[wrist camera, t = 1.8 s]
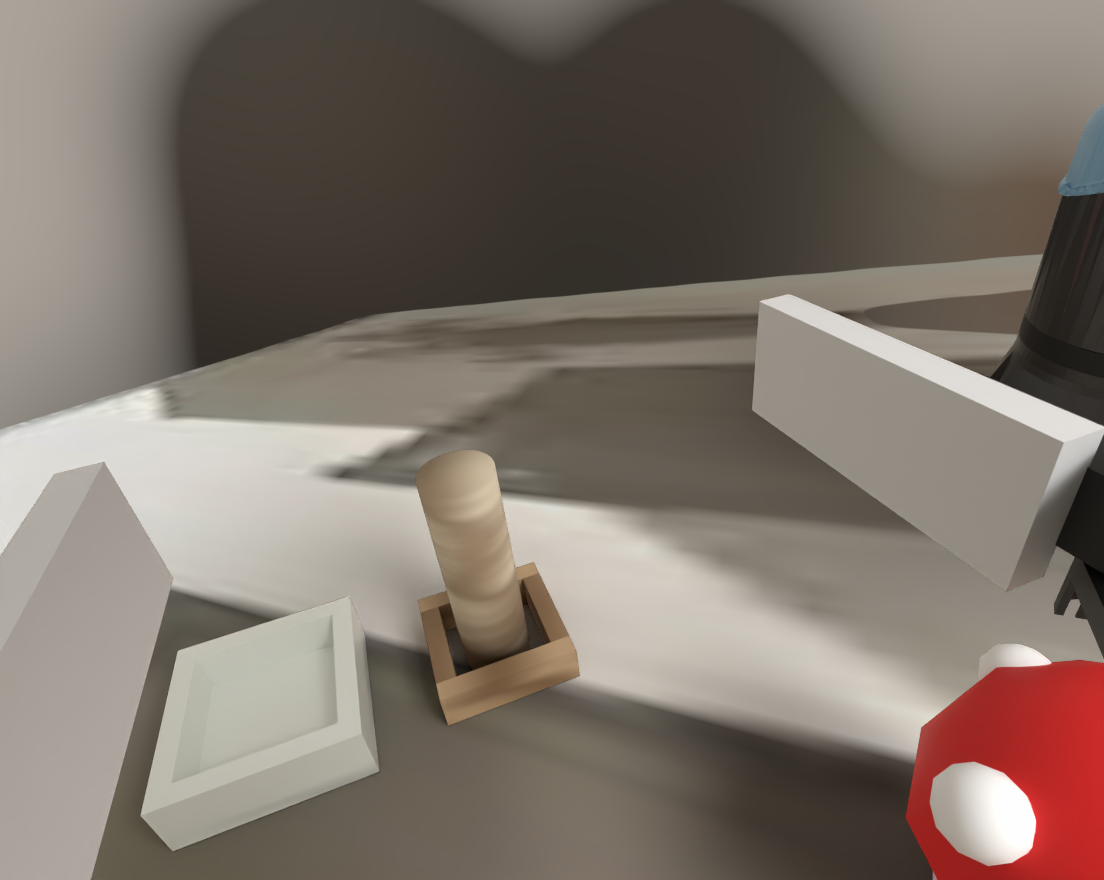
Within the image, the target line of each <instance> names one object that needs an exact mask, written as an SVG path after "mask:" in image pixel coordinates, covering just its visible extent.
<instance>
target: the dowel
mask: <svg viewBox="0 0 1104 880" xmlns="http://www.w3.org/2000/svg"><path fill="white" fill-rule="evenodd" d="M416 485H417V489H418V492H419V496H420V499H421V503H422V506H423V510H424V513H425V517H426V520H427V524H428V527H429V531H430V534H431V538H432V541H433V545H434V548H435V552H436V555H437V559H438V562H439V566H440V569H441V572H442V576H443V579H444V583H445V586H446V590H447V593H448V597H449V600H450V604H451V607H452V611H453V614H454V618H455V621H456V625H457V628H458V632H459V635H460V639H461V642H462V646H463V649H464V653H465V656H466V660H467V663H468V664H469V666H470V667H471V668H472V669H473V670H476V669H479V668H482V667H484V666H487V665H490V664H493V663H495V662H498V661H501V660H504V659H506V658H509V657H512V656H515V655H517V654H520V653H523V652H526V651H528V650H530V639H529V634H528V629H527V624H526V619H525V614H524V609H523V604H522V599H521V594H520V589H519V584H518V579H517V574H516V569H515V564H514V559H513V554H512V549H511V543H510V538H509V533H508V528H507V523H506V518H505V513H504V508H503V503H502V498H501V493H500V488H499V483H498V478H497V473H496V468H495V463H494V461H493V459H492V458H491V457H490V456H488V455H487V454H485V453H482V452H479V451H474V450H459V451H453V452H449V453H445V454H442V455H440V456H437V457H435V458H433V459H432V460H430V461H429V462H427V463H426V464H425V465H423V466H422V467H421V469H420V470H419V471H418V473H417V475H416Z"/></svg>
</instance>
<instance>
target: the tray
mask: <svg viewBox="0 0 1104 880" xmlns="http://www.w3.org/2000/svg"><path fill="white" fill-rule="evenodd" d="M377 772H379V763H378V754H377V744H376V735H375V726H374V716H373V707H372V698H371V689H370V679H369V670H368V661H367V651H366V642H365V633H364V630H363V627H362V625H361V622H360V620H359V617H358V615H357V613H356V610H355V608H354V605H353V603H352V600H351V598H350V596H348V597H345V598H341V599H338V600H335V601H332V602H329V603H326V604H323V605H320V606H316V607H313V608H310V609H307V610H304V611H301V612H298V613H295V614H291V615H288V616H285V617H282V618H279V619H276V620H273V621H270V622H266V623H263V624H260V625H257V626H254V627H251V628H248V629H245V630H241V631H238V632H235V633H232V634H229V635H226V636H223V637H220V638H216V639H213V640H210V641H207V642H204V643H201V644H198V645H194V646H191V647H188V648H185V649H182V650H179V651H178V653H177V657H176V662H175V666H174V670H173V675H172V679H171V684H170V688H169V692H168V697H167V701H166V706H165V710H164V714H163V719H162V723H161V728H160V732H159V736H158V741H157V745H156V750H155V754H154V758H153V763H152V767H151V772H150V776H149V780H148V785H147V789H146V794H145V798H144V803H143V807H142V811H141V817H142V818H143V819H144V820H145V821H146V822H147V823H148V825H149V826H150V827H151V828H152V829H153V830H154V831H155V832H156V833H157V835H158V836H159V837H160V838H161V839H162V840H163V841H164V842H165V843H166V845H167V846H168V847H169V848H170V849H171V850H172V851H175V850H178V849H180V848H183V847H185V846H188V845H191V844H193V843H196V842H198V841H201V840H204V839H206V838H209V837H211V836H214V835H216V834H219V833H222V832H224V831H227V830H229V829H232V828H235V827H237V826H240V825H242V824H245V823H248V822H250V821H253V820H255V819H258V818H260V817H263V816H266V815H268V814H271V813H273V812H276V811H279V810H281V809H284V808H286V807H289V806H291V805H294V804H297V803H299V802H302V801H304V800H307V799H310V798H312V797H315V796H317V795H320V794H323V793H325V792H328V791H330V790H333V789H335V788H338V787H341V786H343V785H346V784H348V783H351V782H354V781H356V780H359V779H361V778H364V777H366V776H369V775H372V774H374V773H377Z"/></svg>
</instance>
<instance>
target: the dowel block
mask: <svg viewBox="0 0 1104 880" xmlns="http://www.w3.org/2000/svg"><path fill="white" fill-rule="evenodd" d="M515 569H516V574H517V579H518V584H519V589H520V594H521V599H522V604H525V603H528V605H529V608H530V610H531V612H532V615H533V617H534V619H535V622H536V624H537V626H538V629H539V631H540V633H541V635H542V638H543V640H544V642H545V645H542V646H539V647H537V648H534V649H531V650H528V651H526V652H523V653H520V654H517V655H515V656H512V657H509V658H506V659H504V660H501V661H498V662H495V663H493V664H490V665H487V666H484V667H482V668H479V669H476V670H473V671H470V672H468V673H465V674H462V675H459V676H457V674H456V670H455V666H454V662H453V658H452V654H451V651H450V647H449V643H448V639H447V635H446V631H447V630H450V629H452V628H455V627H457V625H456V621H455V618H454V614H453V611H452V607H451V604H450V600H449V597H448V593H447V591H445V592H442V593H439V594H436V595H432V596H429V597H426V598H423V599H420V600H418V603H419V608H420V612H421V617H422V622H423V626H424V631H425V635H426V640H427V644H428V649H429V654H430V658H431V663H432V667H433V672H434V676H435V681H436V686H437V690H438V695H439V699H440V703H441V706H442V709H443V712H444V714H445V717H446V720H447V723H448V726H449V725H451V724H454V723H457V722H459V721H462V720H464V719H467V718H470V717H472V716H475V715H478V714H480V713H483V712H486V711H488V710H491V709H493V708H496V707H499V706H501V705H504V704H507V703H509V702H512V701H515V700H517V699H520V698H522V697H525V696H528V695H530V694H533V693H536V692H538V691H541V690H543V689H546V688H549V687H551V686H554V685H557V684H559V683H562V682H565V681H567V680H570V679H572V678H575V677H578V676H580V674H579V667H578V660H577V653H576V649H575V647H574V645H573V643H572V641H571V639H570V636H569V634H568V632H567V630H566V628H565V626H564V624H563V622H562V620H561V618H560V616H559V614H558V611H557V609H556V607H555V605H554V603H553V601H552V599H551V597H550V595H549V593H548V591H547V589H546V587H545V584H544V582H543V580H542V578H541V576H540V574H539V572H538V570H537V568H536V566H535V564H534V562H533V563H530V564H527V565H524V566H521V567H517V568H515Z"/></svg>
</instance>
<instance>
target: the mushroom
mask: <svg viewBox="0 0 1104 880" xmlns="http://www.w3.org/2000/svg"><path fill="white" fill-rule="evenodd" d="M979 680H980V681H979V682H978V683H976V684H975V685H974V686H973V687H971V688H970V689H969V690H968V691H966V692H965V693H964V694H963V695H961V696H960V697H959V698H958V699H956V700H955V701H954V702H953V703H951V704H950V705H949V706H948V707H946V708H945V709H944V710H943V711H941V712H940V713H939V714H938V715H936V716H935V717H934V718H933V719H932V720H930V721H929V722H928V723H927V724H925V725H924V726H923V727H922V728H921V733H920V739H919V744H918V750H917V756H916V761H915V767H914V773H913V779H912V784H911V790H910V796H909V801H908V807H907V813H906V819H907V821H908V823H909V825H910V827H911V829H912V831H913V833H914V835H915V837H916V839H917V841H918V843H919V845H920V847H921V849H922V851H923V852H924V854H925V856H926V858H927V860H928V862H929V864H930V866H931V868H932V870H933V880H1104V663H1099V662H1092V661H1084V660H1074V661H1063V662H1052V663H1051V662H1050V661H1049V660H1048V659H1047V658H1046V657H1044V656H1043V655H1042V654H1040V653H1039V652H1038V651H1036V650H1034V649H1032V648H1029V647H1026V646H1023V645H1020V644H1001V645H995V646H994V647H993V648H991V649H990V650H989V651H988V652H986V653H985V654H984V655H983V656H982V657H980V664H979Z"/></svg>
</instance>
